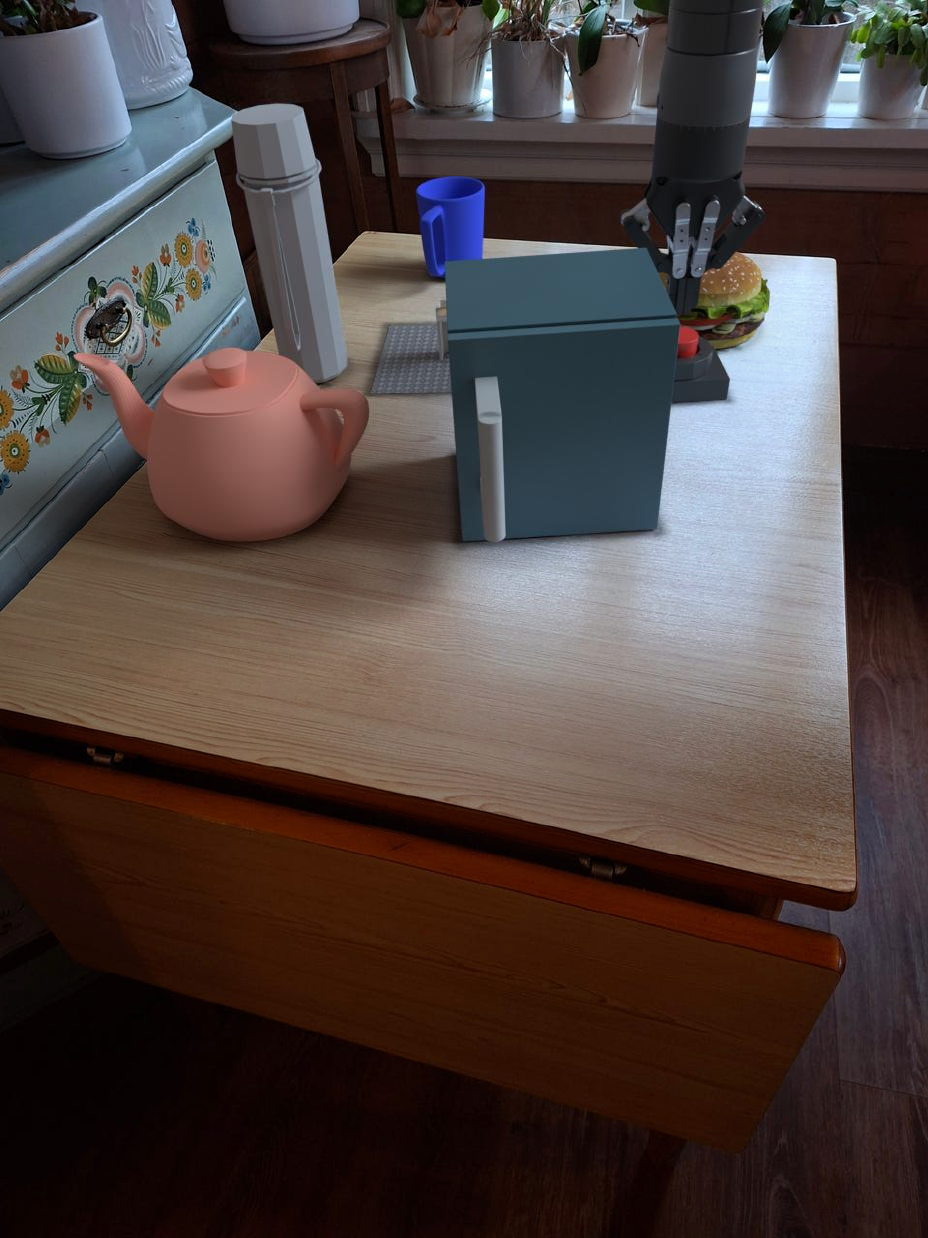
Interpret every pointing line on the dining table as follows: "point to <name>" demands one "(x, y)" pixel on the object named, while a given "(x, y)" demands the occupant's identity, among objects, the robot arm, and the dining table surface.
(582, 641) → the dining table surface
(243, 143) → the water bottle
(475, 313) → the cupboard
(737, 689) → the dining table surface
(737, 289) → the food
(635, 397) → the cupboard door
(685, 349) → the red push button
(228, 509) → the teapot
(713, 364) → the button box
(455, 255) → the mug
